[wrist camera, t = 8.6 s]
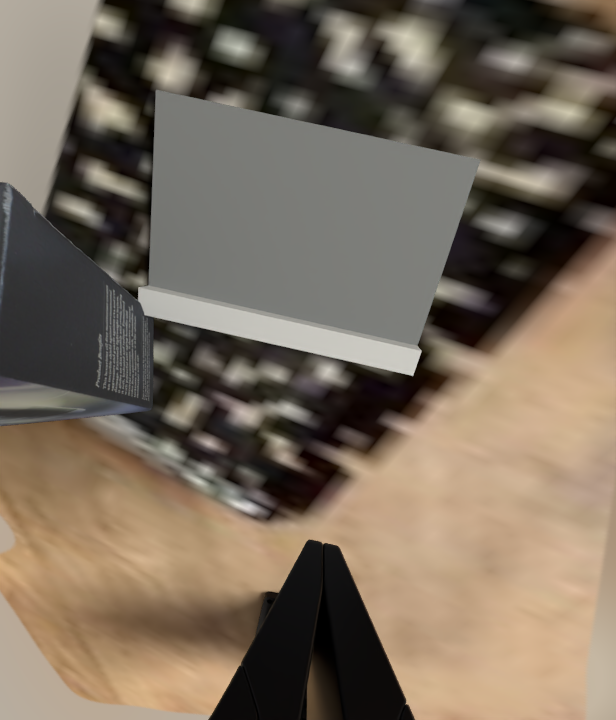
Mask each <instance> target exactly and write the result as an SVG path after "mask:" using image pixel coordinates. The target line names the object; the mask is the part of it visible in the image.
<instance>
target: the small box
mask: <svg viewBox="0 0 616 720" xmlns="http://www.w3.org/2000/svg"><path fill="white" fill-rule="evenodd" d="M153 319H154V317H151V316H147V315H144V311H143V308H142V306H141V303H140V302H139V301H138V300H136V299H135V298H134V297H133V296H132V295H131V294H130V293H129V292H128V291H126V290H125V289H124V288H122V287H121V286H120V284H118V283H117V282H116V281H115V280H114V279H112V278H111V277H110V276H109V275H108V274H107V273H106V272H105V271H103V270H102V269H101V268H100V267H99V266H98V265H97V264H96V263H94V262H93V261H92V260H91V259H90V258H89V257H88V256H86V255H85V254H84V253H83V252H82V251H81V250H80V249H78V248H77V247H75V246H74V245H73V243H72V242H71V241H70V240H68V239H67V238H66V237H65V236H64V235H63V234H61V233H60V232H59V231H58V230H57V229H56V228H55V227H53V226H52V224H51V223H50V222H49V221H48V220H47V219H46V218H45V217H44V216H42V215H41V214H40V213H39V212H38V211H37V210H35V209H34V208H33V207H32V205H31V203H29V202H28V201H27V200H26V198H25V197H24V196H23V195H22V194H21V193H20V192H18V191H17V190H16V189H15V188H14V187H13V186H12V185H10V184H8V183H2V182H0V426H7V425H18V424H28V423H38V422H49V421H58V420H68V419H78V418H88V417H96V416H106V415H116V414H125V413H134V412H143V411H149V410H151V409H152V406H153V333H154V332H153Z"/></svg>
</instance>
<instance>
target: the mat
mask: <svg viewBox="0 0 616 720" xmlns="http://www.w3.org/2000/svg"><path fill="white" fill-rule="evenodd" d="M479 163H480V160H479V159H474V158H470V157H465V156H461V155H456V154H451V153H447V152H442V151H437V150H433V149H428V148H423V147H419V146H414V145H410V144H405V143H400V142H396V141H391V140H386V139H382V138H377V137H373V136H368V135H363V134H359V133H354V132H349V131H345V130H340V129H335V128H331V127H326V126H322V125H317V124H312V123H308V122H303V121H298V120H294V119H289V118H285V117H280V116H275V115H271V114H266V113H261V112H257V111H252V110H248V109H243V108H238V107H234V106H229V105H224V104H220V103H215V102H210V101H206V100H201V99H197V98H192V97H187V96H183V95H178V94H173V93H169V92H164V91H160V90H156V100H155V127H154V153H153V180H152V206H151V233H150V259H149V285H148V286H143V287H138V301H139V302H140V303H141V306H142V308H143V311H144V315H147V316H151V317H155V318H160V319H164V320H169V321H173V322H177V323H182V324H186V325H191V326H195V327H200V328H204V329H208V330H213V331H217V332H222V333H226V334H231V335H235V336H239V337H244V338H248V339H253V340H257V341H261V342H266V343H270V344H275V345H279V346H284V347H288V348H292V349H297V350H301V351H306V352H310V353H315V354H319V355H323V356H328V357H332V358H337V359H341V360H346V361H350V362H354V363H359V364H363V365H368V366H372V367H376V368H381V369H385V370H390V371H394V372H399V373H403V374H407V375H412V376H413V374H414V371H415V369H416V366H417V363H418V360H419V357H420V354H421V350H420V348H419V347H418V346H417V345H418V342H419V339H420V336H421V334H422V331H423V328H424V325H425V322H426V319H427V316H428V313H429V310H430V307H431V304H432V301H433V298H434V295H435V292H436V289H437V286H438V283H439V281H440V278H441V275H442V272H443V269H444V266H445V263H446V260H447V257H448V254H449V251H450V248H451V245H452V242H453V239H454V236H455V233H456V230H457V228H458V225H459V222H460V219H461V216H462V213H463V210H464V207H465V204H466V201H467V198H468V195H469V192H470V189H471V186H472V183H473V180H474V177H475V175H476V172H477V169H478V166H479Z"/></svg>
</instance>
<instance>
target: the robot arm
mask: <svg viewBox="0 0 616 720" xmlns="http://www.w3.org/2000/svg"><path fill="white" fill-rule="evenodd" d="M405 704H406V698H405V696H404V694H403V691H402V689H401V687H400V685H399V682H398V680H397V678H396V675H395V673H394V671H393V669H392V666H391V664H390V662H389V659H388V657H387V655H386V653H385V650H384V648H383V646H382V643H381V641H380V639H379V637H378V634H377V632H376V630H375V627H374V625H373V623H372V621H371V618H370V616H369V614H368V612H367V609H366V607H365V605H364V602H363V600H362V598H361V596H360V593H359V591H358V589H357V586H356V584H355V582H354V580H353V577H352V575H351V573H350V570H349V568H348V566H347V564H346V561H345V559H344V557H343V554H342V552H341V550H340V548H339V547H338V546H336V545H332V544H327V543H325V544H322V542H319V541H314V540H308V541H307V542H306V544H305V546H304V548H303V550H302V551H301V553H300V555H299V557H298V559H297V561H296V562H295V564H294V566H293V568H292V570H291V572H290V574H289V575H288V577H287V579H286V581H285V583H284V585H283V586H282V588H281V590H280V592H279V594H276V593H272V592H268V593H266V594H265V597H264V601H263V605H262V610H261V614H260V618H259V622H258V627H257V631H256V635H255V638H254V640H253V642H252V644H251V646H250V647H249V649H248V651H247V653H246V655H245V657H244V658H243V660H242V662H241V666H239V667H238V669H237V671H236V673H235V675H234V676H233V678H232V680H231V682H230V684H229V686H228V687H227V689H226V691H225V692H224V694H223V696H222V698H221V699H220V701H219V703H218V705H217V706H216V708H215V710H214V712H213V713H212V715H211V716H210V718H209V719H208V720H415V719H414V716H413V714H412V712H411V709H410V707H409V705H407V704H406V705H405Z"/></svg>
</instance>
